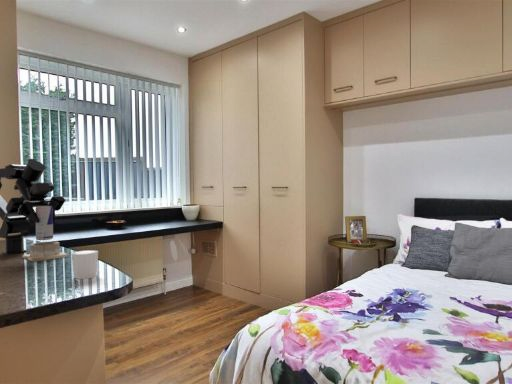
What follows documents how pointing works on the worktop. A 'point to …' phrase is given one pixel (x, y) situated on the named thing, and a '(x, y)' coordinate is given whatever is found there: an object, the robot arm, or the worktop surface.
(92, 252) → the white cup
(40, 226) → the energy drink
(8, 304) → the worktop surface
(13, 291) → the worktop surface
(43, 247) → the cup bracket
